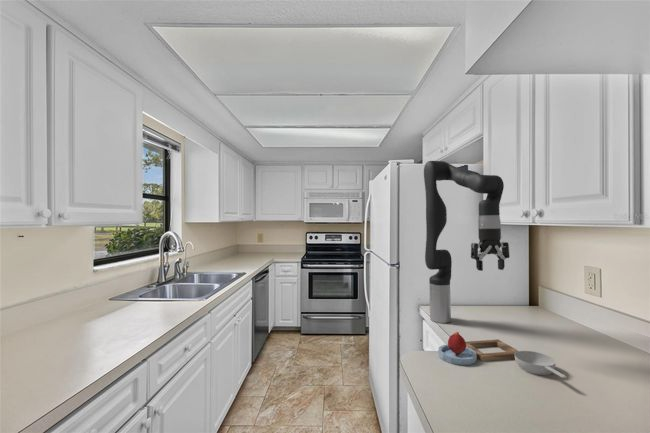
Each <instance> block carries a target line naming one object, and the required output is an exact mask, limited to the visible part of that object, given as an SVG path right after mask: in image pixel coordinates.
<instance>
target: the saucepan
mask: <svg viewBox="0 0 650 433" xmlns="http://www.w3.org/2000/svg"><path fill="white" fill-rule="evenodd" d="M515 362H516V364H517V366H518V367H519V368H520V369H521V370H522V371H525V372H526V373H530V374H532V375H538V376H548V375H551V374H555V375H557V376H559V377H560V378H561V379H567V378H568V377H567V375H565V374H563V373H561V372H559V371H558V370H556V360H555V359H554V358H552V357H551V356H549V355H547V354H544V353H541V352H538V351H531V350H518V352H516V353H515Z"/></svg>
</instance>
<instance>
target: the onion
mask: <svg viewBox="0 0 650 433" xmlns="http://www.w3.org/2000/svg"><path fill="white" fill-rule="evenodd" d="M466 342H467V341H466V340H465V338H464V337H463V336H462V335H461V334H460V332H459V331H456V332H453V334H451V335H450V336H449V338H448V340H447V345H448V347H449V348H450V350H451V351H452V352H454V353H455V354H456V355H459V354H461V353H462V352H464V351H465V349H466Z"/></svg>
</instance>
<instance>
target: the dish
mask: <svg viewBox="0 0 650 433" xmlns="http://www.w3.org/2000/svg"><path fill="white" fill-rule="evenodd" d="M438 357H439V358H440V359H441V360H442V361H444V362H445V363H448V364H451V365H458V366H471V365H473V364H475V363H476V362H477V359H478V358H477V355H476V352H475V351H474V350H472V349H471V348H468V347H466V349H465V351H464V352H462V353H461V354H459V355H456V354H455V353H454V352H452V351H451V350H450V348H449V347H448V344H443V345H440V346H439V347H438Z"/></svg>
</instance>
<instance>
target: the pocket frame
mask: <svg viewBox="0 0 650 433" xmlns="http://www.w3.org/2000/svg"><path fill="white" fill-rule="evenodd" d="M465 342H466V347H468V348H471V349H472V350H474V351H475V352H476V355H477V359H479V360H480V361H481V362H490V361H501V360H502V361H503V360H504V361H505V360H514V359H515V353H516V352H518V351H519V350H518V349H517V348H514V347H512V346H511V345H509V344H507V343H506V342H503V341H501V340H500V339H485V340H471V341H465ZM488 347H498V348H499V349H501V350H503V351H500V352H498V351H497V352H488V353H487V352H486V353H484V352H482V351H481V350H479V349H478V348H488Z"/></svg>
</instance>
